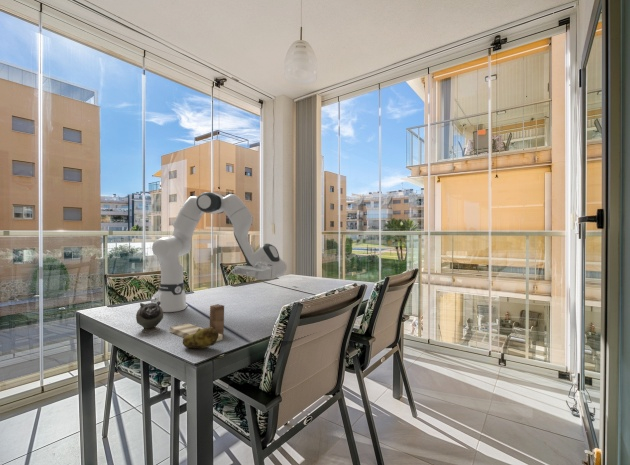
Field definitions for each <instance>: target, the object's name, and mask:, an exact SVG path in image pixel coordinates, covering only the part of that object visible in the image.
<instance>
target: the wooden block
mask: <svg viewBox="0 0 630 465" xmlns="http://www.w3.org/2000/svg"><path fill="white" fill-rule="evenodd" d="M224 323H225V305H222V304H220V303H219V304H213V305H210V306H209V327H207V328H213V329H215V330H216V331H217V332H218V333H219V334H222V335H224V334H225V333H224V332H225V331H224V327H225V326H224V325H225V324H224ZM199 330H200V328H199V329H198V330H197V332H198V331H199Z"/></svg>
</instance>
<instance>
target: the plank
mask: <svg viewBox="0 0 630 465" xmlns="http://www.w3.org/2000/svg"><path fill="white" fill-rule="evenodd" d="M199 328H200V330H201V329H204V328H203V327H201V326H197V325H194V324H191V323H189V322H188V323H184V324H179V325H174V326H170V328H169V330H170V333H172V334H174V335H176V336H179V337H182V338H184V337H186V336H188V335H190V334H194V333H196V332H197V330H198V329H199ZM223 335H224V334H223ZM223 335H222V334H219V333H218V339H217V341H216V342H219V341H222V340H223Z"/></svg>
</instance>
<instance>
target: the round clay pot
mask: <svg viewBox="0 0 630 465" xmlns="http://www.w3.org/2000/svg"><path fill="white" fill-rule="evenodd" d="M139 303H140V304H139V305H140V307H139V308H138V310H137V311H136V314H135V315H136V316H135V321H136V322H137V324H138V325H139V326H141V327H142V329H141V330H142V331H143V332H142V331H141V332H142V333H155V332H157V331H159V330H161V328H160V327H158V325H159V324H160V323H161V322H162V320H163V319H164V312H163V310H162V308H161V307H160V306H159V305H160V303H161V302H160V301H159V302H157V304H156V303H151V302H150V303H149V302H148V303H142V302H139Z"/></svg>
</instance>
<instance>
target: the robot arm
mask: <svg viewBox="0 0 630 465" xmlns="http://www.w3.org/2000/svg"><path fill="white" fill-rule="evenodd" d="M205 213H206V214H213V215H214V214H215V215H216V214H222V213H225V215H226V216H227V218H228V219H229V221H230V222H231V225H232V229H233V235H234V239H235V242H236V243H237V245H238V247H239V249H240V251H241V253H242V255H243V257H244V259H245V263H246V265H235V266H234V267H233V269H231V274H234V275H239V276H241V275H242V276H246V277H253V278H254V279H256V280H258V281H261V280H274V279H275V278H280V277H283V276H284V275H285V274H286V273H287V271H288V270H287V269H288V267H287V263H286V261H284V260H283V259H282V258H281V257H280V255H279V251H278V249H277V247H276V246H274V245H273V244H270V243H264V244H263V245H261V246H260V247H259V248H258V249H256V250H254V249H253V247H252V245H251V243H250V241H249V239H248V234H249V232H250V229H251V227H252V225H253V220H254V219H253V218H254V217H253V215H252V212H251V210H250V209H249V207H248V206H247V205H246V203H245V202H244V201H243V200H242V199H241V198H240V197H239V196H238V195H237V194H234V193H230V194H227V195H223V194H220V193H217V192H210V191H205V192H202V193H200V194H199V195H198V196H196V195H192V196H189V197H188V198H187V199H186V201H185V202H184V203H183V205H182V206H181V208H180V210H179V211H178V213H177V215H176V217H175V219H174V221H173V223H172V226H173V233H172V235H171V236H163V237H161V238H158V239H156V240H155V241H154V242H153V244H152V246H151V251H152V253H153V255H155V257H156V258H157V259H158V263H159V267H160V283H159V284H158V290H157V292H155V293H154V294H153V295H152V296H151V298H150V303H156V304H157V302H159V301H160V302H161V303H160V305H159V306H160V307H161V308H162V310H163V313H172V312H173V313H175V312H180V311H183V310H185V309H186V308H187V307H188V306H189V305H188V304H187V297H186V291H185V290H184V289H185V282H184V267H183V266H182V265H181V263H180V257H183V256H185V255H187V254H189V253H190V252H191V250H192V238H193V235H194V232H195V230H196V228H197V226H198V225H199V222H200V220H201V218H202V216H203V215H204V214H205Z"/></svg>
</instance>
